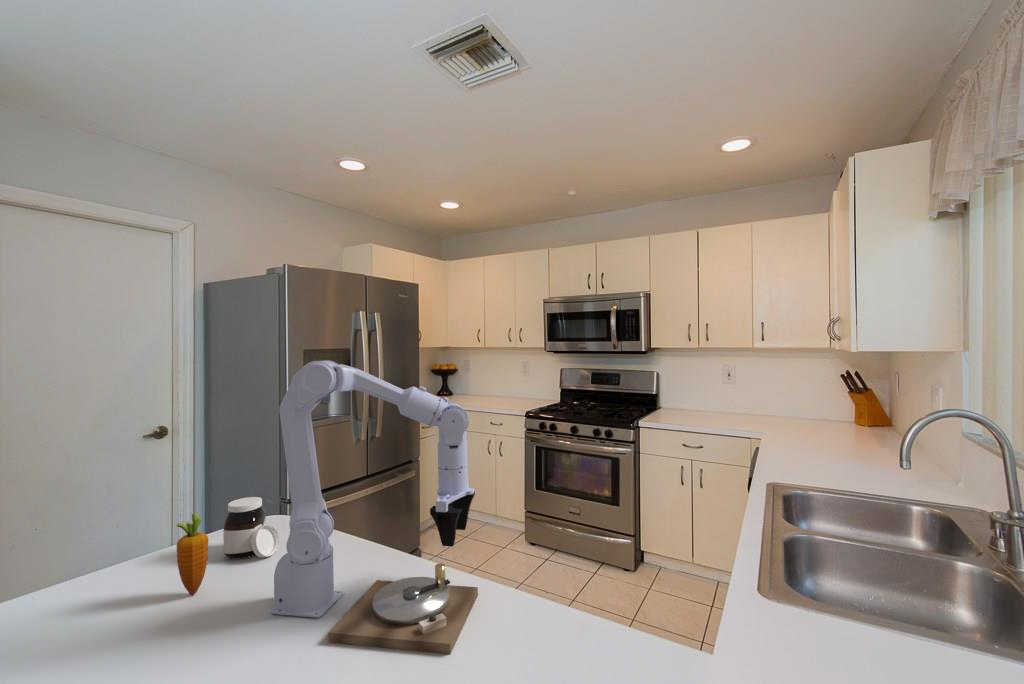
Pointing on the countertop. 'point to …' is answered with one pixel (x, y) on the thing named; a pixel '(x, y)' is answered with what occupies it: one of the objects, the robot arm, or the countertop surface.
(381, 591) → the cam dial
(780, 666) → the countertop surface
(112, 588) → the countertop surface
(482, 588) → the countertop surface
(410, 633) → the stand
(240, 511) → the spread jar
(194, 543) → the carrot
